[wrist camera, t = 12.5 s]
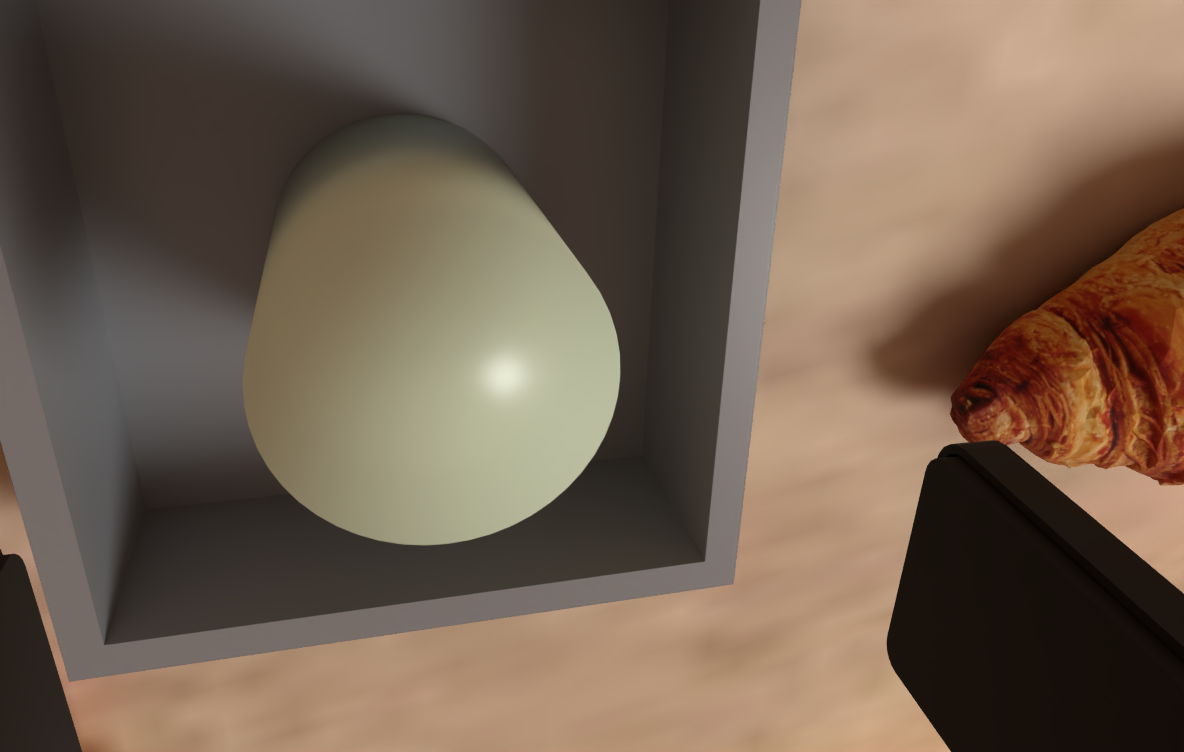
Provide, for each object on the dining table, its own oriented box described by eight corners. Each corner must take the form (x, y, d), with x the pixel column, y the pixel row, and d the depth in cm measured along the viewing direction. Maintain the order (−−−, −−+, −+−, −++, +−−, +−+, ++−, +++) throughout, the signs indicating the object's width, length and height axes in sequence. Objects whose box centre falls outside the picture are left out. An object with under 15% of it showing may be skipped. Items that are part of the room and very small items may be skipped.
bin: (-20, -114, 18) (-163, -129, 13) (693, -88, 21) (812, -92, 16) (124, 518, 24) (69, 681, 19) (656, 459, 28) (733, 584, 22)
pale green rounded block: (258, 115, 20) (216, 212, 13) (532, 112, 21) (628, 199, 14) (288, 368, 22) (267, 565, 15) (531, 351, 24) (613, 524, 17)
